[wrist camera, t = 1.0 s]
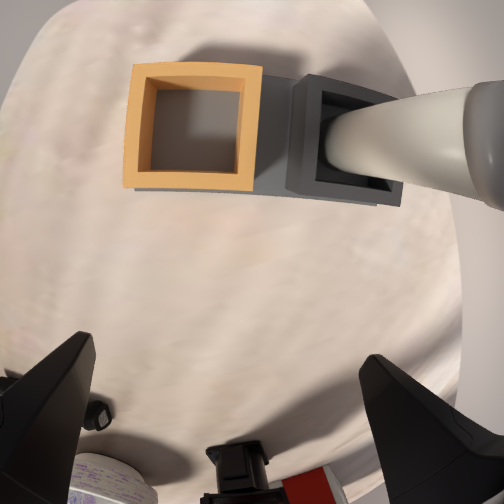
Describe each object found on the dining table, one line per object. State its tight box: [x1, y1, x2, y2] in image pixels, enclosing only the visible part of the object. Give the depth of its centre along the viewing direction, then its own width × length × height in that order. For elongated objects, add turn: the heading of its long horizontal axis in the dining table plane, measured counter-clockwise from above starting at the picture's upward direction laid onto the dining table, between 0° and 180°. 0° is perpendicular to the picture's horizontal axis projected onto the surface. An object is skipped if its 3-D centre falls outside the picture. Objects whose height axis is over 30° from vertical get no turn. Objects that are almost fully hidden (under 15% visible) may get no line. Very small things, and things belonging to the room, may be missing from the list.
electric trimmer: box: [0, 377, 112, 431], centre depth 20 cm, size 4×16×3 cm, turn 81°
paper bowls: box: [68, 453, 158, 504], centre depth 23 cm, size 15×15×8 cm
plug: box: [317, 80, 504, 211], centre depth 10 cm, size 4×4×13 cm
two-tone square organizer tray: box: [123, 62, 403, 207], centre depth 15 cm, size 16×8×4 cm, turn 85°
